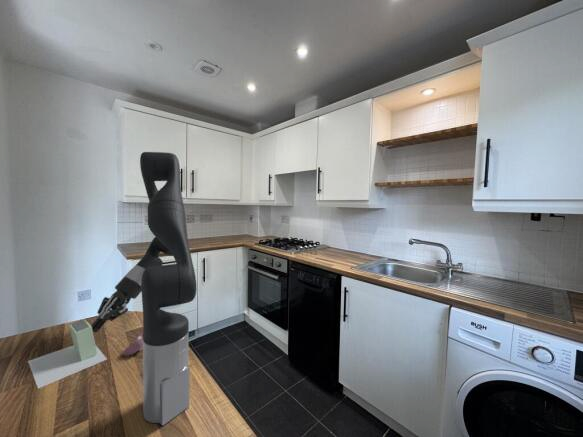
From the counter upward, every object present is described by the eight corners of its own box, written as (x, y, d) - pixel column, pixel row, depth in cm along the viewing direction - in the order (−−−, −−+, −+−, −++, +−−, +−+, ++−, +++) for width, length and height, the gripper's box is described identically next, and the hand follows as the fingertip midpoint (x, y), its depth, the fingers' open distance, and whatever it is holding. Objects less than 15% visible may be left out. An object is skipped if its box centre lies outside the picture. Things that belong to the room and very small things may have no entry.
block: (97, 353, 71) (91, 325, 69) (81, 361, 68) (75, 332, 66) (89, 344, 75) (84, 318, 73) (75, 351, 72) (69, 324, 70)
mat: (107, 360, 69) (107, 359, 69) (37, 389, 58) (37, 388, 58) (90, 340, 78) (90, 339, 78) (27, 362, 67) (27, 361, 67)
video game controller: (134, 362, 71) (144, 343, 70) (120, 355, 71) (131, 335, 70) (153, 343, 80) (162, 325, 80) (142, 336, 80) (151, 319, 80)
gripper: (117, 272, 83) (72, 320, 73) (136, 279, 76) (90, 333, 66) (133, 283, 88) (93, 328, 78) (153, 290, 81) (112, 342, 71)
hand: (92, 330), depth 72 cm, fingers closed
